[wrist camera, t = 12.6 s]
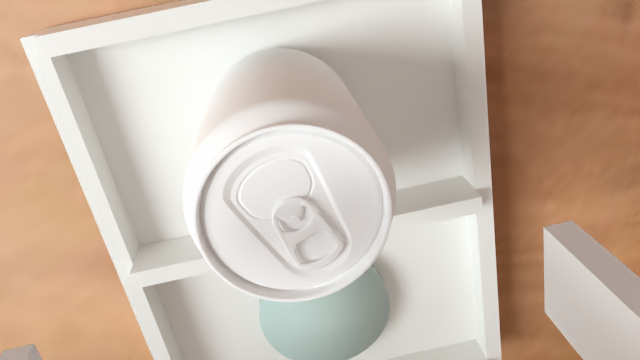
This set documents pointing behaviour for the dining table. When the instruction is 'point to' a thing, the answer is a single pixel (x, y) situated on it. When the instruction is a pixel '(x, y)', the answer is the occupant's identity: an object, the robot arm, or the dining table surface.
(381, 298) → the pale green smooth oval
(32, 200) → the dining table surface
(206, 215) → the beverage can
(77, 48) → the divided white tray
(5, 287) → the dining table surface
